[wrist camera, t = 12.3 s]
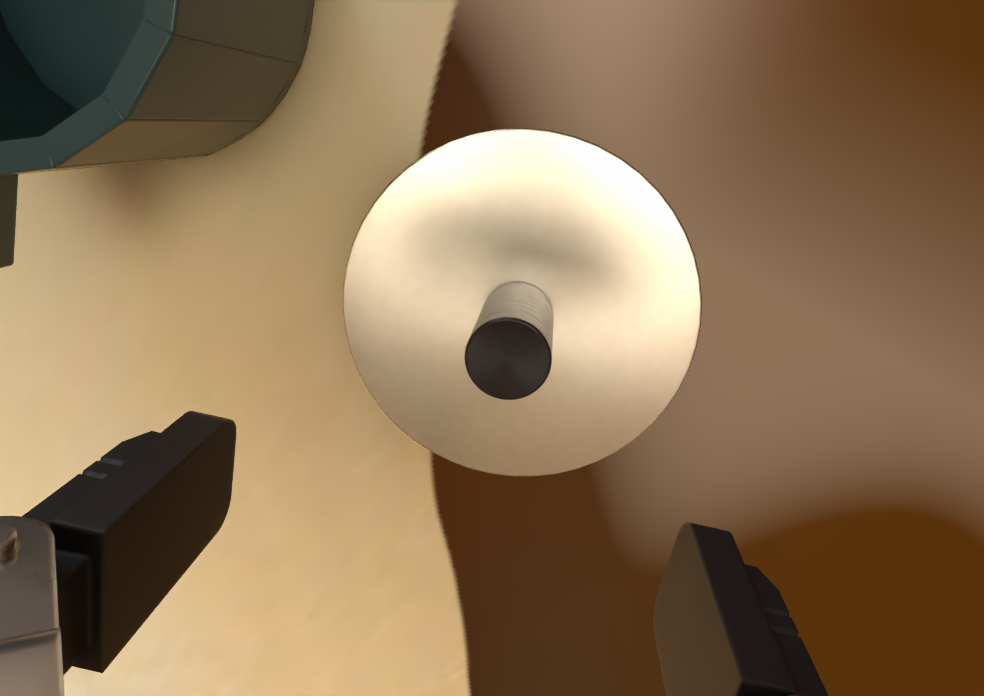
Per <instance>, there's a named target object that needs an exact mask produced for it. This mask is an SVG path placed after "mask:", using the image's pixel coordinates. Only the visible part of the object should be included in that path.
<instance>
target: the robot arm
mask: <svg viewBox="0 0 984 696" xmlns="http://www.w3.org/2000/svg"><path fill="white" fill-rule="evenodd" d="M235 443H236V425H235V423H234V421H233V420H230V419H226V418H221V417H217V416H212V415H208V414H203V413H199V412H194V411H189V412H187V413H185V414H184V415H183V416H181V417H180V418H179V419H178V420H176V421H175V422H174V423H173V424H171V425H170V426H169V427H168V428H166V429H165V430H164V431H163V432H161V433H158V432H154V431H150V432H148V433H145V434H142V435H140V436H137V437H134V438H131V439H129V440H126V441H123V442H121V443H120V444H119V445H117V446H116V447H115V448H113V449H112V450H111V451H109V452H108V453H106V454H105V455H104V456H102V457H101V460H100V461H96V462H94V463H93V464H92V465H90V466H89V467H88V468H86V469H85V470H84V471H83V474H82V475H81V474H78V475H77V476H76V477H74V478H73V479H72V480H70V481H69V482H68V483H66V484H65V485H64V486H62V487H61V488H60V489H58V490H57V491H56V492H54V493H53V494H52V495H50V496H49V497H47V498H46V499H45V500H43V501H42V502H41V503H39V504H38V505H37V506H35V507H34V508H33V509H31V510H30V511H29V512H27V513H26V514H25V515H23V516H22V517H19V516H0V696H64V680H63V676H64V674H65V673H66V672H67V671H68V670H69V669H70V668H71V666H74V667H78V668H83V669H87V670H91V671H96V672H100V673H103V672H104V671H105V669H106V668H107V667H108V666H109V664H110V663H111V662H112V661H113V660H114V658H115V657H116V656H117V655H118V653H119V652H120V651H121V650H122V649H123V647H124V646H125V645H126V644H127V642H128V641H129V640H130V639H131V638H132V636H133V635H134V634H135V633H136V631H137V630H138V629H139V628H140V627H141V625H142V624H143V623H144V622H145V620H146V619H147V618H148V617H149V616H150V614H151V613H152V612H153V611H154V609H155V608H156V607H157V606H158V605H159V603H160V602H161V601H162V600H163V598H164V597H165V596H166V595H167V593H168V592H169V591H170V590H171V589H172V587H173V586H174V585H175V584H176V582H177V581H178V580H179V579H180V578H181V576H182V575H183V574H184V573H185V571H186V570H187V569H188V568H189V567H190V565H191V564H192V563H193V562H194V560H195V559H196V558H197V557H198V556H199V554H200V553H201V552H202V551H203V549H204V548H205V547H206V546H207V545H208V543H209V542H210V541H211V540H212V538H213V537H214V536H215V535H216V534H217V532H218V531H219V529H220V528H221V526H222V524H223V522H224V520H225V517H226V515H227V512H228V509H229V505H230V500H231V492H232V480H233V467H234V455H235ZM654 632H655V638H656V644H657V649H658V654H659V659H660V664H661V670H662V675H663V680H664V685H665V690H666V696H828V694H827V692H826V690H825V688H824V685H823V683H822V681H821V679H820V677H819V675H818V673H817V671H816V669H815V666H814V664H813V662H812V660H811V658H810V656H809V654H808V652H807V649H806V648H805V645H804V643H803V642H802V639H801V638H799V637H798V630H797V628H796V626H795V624H794V622H793V620H792V618H789V611H788V609H787V607H786V605H785V603H784V601H783V599H782V597H781V594H780V592H779V590H778V589H777V588H776V587H775V586H774V585H773V584H772V583H771V582H770V581H769V580H768V578H767V577H766V576H765V575H764V574H763V573H762V572H761V571H760V570H759V569H758V568H757V567H754V566H749V565H745V564H744V562H743V560H742V557H741V555H740V553H739V550H738V548H737V546H736V543H735V541H734V538H733V536H732V534H731V533H730V532H728V531H725V530H720V529H716V528H711V527H707V526H703V525H698V524H694V523H689V522H686V523H684V524H683V525H682V527H681V529H680V531H679V533H678V536H677V539H676V542H675V544H674V547H673V550H672V553H671V556H670V559H669V562H668V565H667V568H666V571H665V574H664V577H663V580H662V583H661V585H660V588H659V591H658V594H657V598H656V603H655V609H654Z"/></svg>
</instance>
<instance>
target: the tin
mask: <svg viewBox="0 0 984 696" xmlns="http://www.w3.org/2000/svg"><path fill="white" fill-rule="evenodd" d="M313 1H314V0H0V268H2V267H6V266H10V265H12V264H13V262H14V244H15V225H16V206H17V187H18V174H24V173H35V172H46V171H57V170H68V169H79V168H90V167H101V166H112V165H123V164H134V163H145V162H155V161H163V160H172V159H181V158H189V157H198V156H206V155H209V154H212V153H213V152H215V151H216V150H219V149H222V148H225V147H226V146H228V145H230V144H232V143H234V142H236V141H238V140H240V139H241V138H243V137H244V136H246V135H247V134H248V133H250V132H251V131H252V130H254V129H255V128H256V127H258V126H259V125H260V124H261V123H262V122H263V121H264V120H265V119H266V118H267V117H268V116H269V115H270V114H271V113H272V112H273V110H274V109H275V108H276V106H277V105H278V104H279V102H280V101H281V100H282V98H283V97H284V96H285V94H286V92H287V91H288V89H289V87H290V85H291V83H292V81H293V80H294V78H295V76H296V74H297V71H298V69H299V66H300V64H301V61H302V58H303V56H304V53H305V50H306V45H307V41H308V37H309V33H310V29H311V21H312V13H313Z"/></svg>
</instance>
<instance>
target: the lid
mask: <svg viewBox="0 0 984 696" xmlns="http://www.w3.org/2000/svg"><path fill="white" fill-rule="evenodd" d="M700 286H701V285H700V276H699V272H698V268H697V263H696V259H695V255H694V252H693V250H692V247H691V244H690V242H689V239H688V237H687V234H686V232H685V230H684V228H683V226H682V225H681V223H680V221H679V219H678V217H677V216H676V214H675V212H674V210H673V209H672V208H671V206H670V205H669V204H668V202H667V201H666V200H665V198H664V197H663V196H662V194H661V193H660V192H659V190H658V189H657V188H655V187H654V186H653V185H652V184H651V183H650V182H649V181H648V180H647V179H646V178H645V177H644V176H643V175H642V174H641V173H640V172H639V171H638V170H636V169H635V168H634V167H632V166H631V165H629V164H628V163H627V162H626V161H624V160H623V159H622V158H620V157H618V156H616V155H615V154H613V153H611V152H609V151H607V150H606V149H604V148H602V147H600V146H598V145H596V144H593V143H591V142H588V141H586V140H583V139H580V138H578V137H575V136H571V135H567V134H563V133H559V132H554V131H550V130H539V129H529V128H517V129H498V130H493V131H487V132H482V133H477V134H472V135H470V136H466V137H464V138H461V139H458V140H454V141H451V142H449V143H447V144H445V145H443V146H441V147H439V148H437V149H435V150H433V151H431V152H429V153H427V154H426V155H424V156H423V157H421V158H420V159H418V160H417V161H415V162H414V163H412V164H411V165H410V166H408V167H407V168H406V169H405V170H404V171H402V172H401V173H400V174H399V175H398V176H397V177H396V178H395V179H394V180H393V181H391V182H390V183H389V185H388V186H387V187H386V188H385V189H384V191H383V192H382V193H381V194H380V195H379V197H378V198H377V199H376V200H375V201H374V203H373V205H372V206H371V208H370V209H369V211H368V213H367V214H366V216H365V218H364V219H363V221H362V223H361V225H360V227H359V230H358V232H357V234H356V236H355V239H354V241H353V244H352V247H351V250H350V254H349V257H348V261H347V264H346V271H345V278H344V284H343V314H344V323H345V331H346V335H347V339H348V343H349V347H350V351H351V354H352V356H353V359H354V361H355V364H356V367H357V369H358V372H359V374H360V376H361V377H362V379H363V381H364V383H365V385H366V387H367V388H368V390H369V392H370V393H371V395H372V396H373V398H374V399H375V400H376V402H377V403H378V405H379V406H380V407H381V409H382V410H383V411H384V412H385V413H386V414H387V415H388V416H389V418H390V419H391V420H392V421H393V422H394V423H395V424H396V425H397V426H398V427H399V428H400V429H402V430H403V431H404V432H405V433H406V434H407V435H409V436H410V437H411V438H412V439H413V440H415V441H416V442H418V443H419V444H421V445H422V446H424V447H425V448H427V449H428V450H430V451H432V452H434V453H436V454H437V455H439V456H442V457H443V458H446V459H447V460H449V461H452V462H454V463H457V464H460V465H462V466H465V467H468V468H471V469H475V470H479V471H483V472H487V473H491V474H500V475H508V476H541V475H550V474H557V473H561V472H566V471H570V470H574V469H578V468H581V467H584V466H586V465H589V464H592V463H595V462H597V461H599V460H601V459H603V458H605V457H607V456H609V455H611V454H613V453H615V452H617V451H618V450H620V449H621V448H623V447H624V446H625V445H627V444H629V443H630V442H632V441H633V440H634V439H636V438H637V437H638V436H639V435H640V434H642V433H643V432H644V431H645V430H646V429H647V428H648V427H649V426H651V425H652V424H653V423H654V421H655V420H656V419H657V418H658V417H659V416H660V415H661V413H662V412H663V411H664V410H665V409H666V408H667V406H668V405H669V403H670V402H671V400H672V399H673V398H674V396H675V395H676V393H677V392H678V390H679V388H680V386H681V384H682V382H683V380H684V378H685V376H686V374H687V372H688V370H689V368H690V365H691V362H692V359H693V356H694V353H695V350H696V347H697V342H698V336H699V331H700V326H701V310H702V297H701V287H700Z"/></svg>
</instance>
